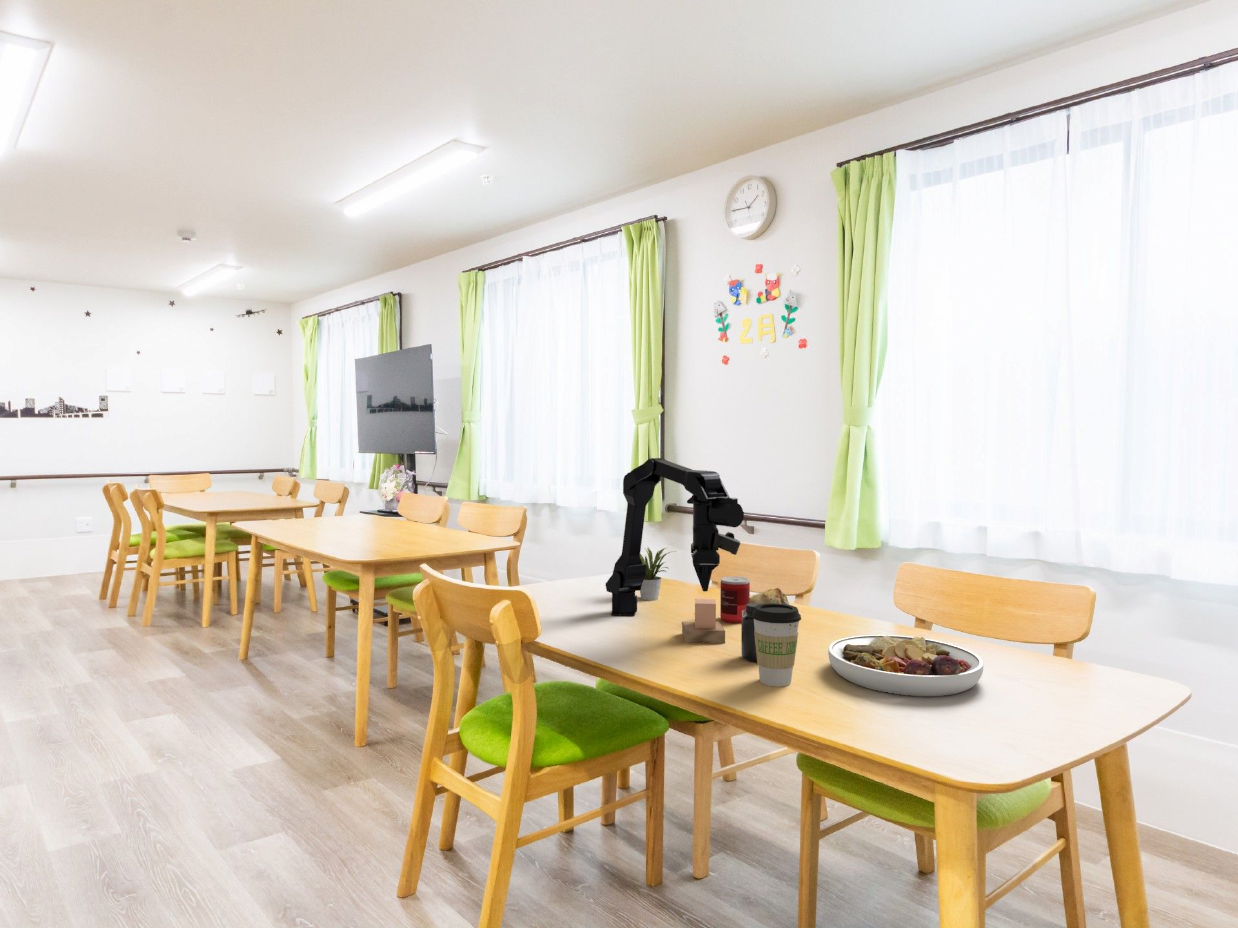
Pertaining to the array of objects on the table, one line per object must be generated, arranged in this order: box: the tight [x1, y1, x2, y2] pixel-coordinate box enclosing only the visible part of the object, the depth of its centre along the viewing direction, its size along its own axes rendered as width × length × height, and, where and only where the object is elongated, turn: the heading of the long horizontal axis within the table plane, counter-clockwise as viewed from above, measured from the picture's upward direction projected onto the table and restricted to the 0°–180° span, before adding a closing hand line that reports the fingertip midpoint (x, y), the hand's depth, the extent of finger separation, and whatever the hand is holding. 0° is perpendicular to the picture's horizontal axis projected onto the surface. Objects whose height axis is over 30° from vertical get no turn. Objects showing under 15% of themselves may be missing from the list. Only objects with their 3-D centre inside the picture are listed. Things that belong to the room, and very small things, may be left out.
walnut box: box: [681, 620, 726, 645], centre depth 191 cm, size 9×9×4 cm
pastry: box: [749, 587, 790, 605], centre depth 214 cm, size 14×12×8 cm
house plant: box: [639, 545, 677, 601], centre depth 235 cm, size 14×14×16 cm
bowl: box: [827, 634, 984, 697], centre depth 162 cm, size 30×30×8 cm
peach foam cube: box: [694, 598, 717, 629], centre depth 191 cm, size 5×5×6 cm
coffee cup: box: [751, 603, 802, 688], centre depth 158 cm, size 10×10×15 cm
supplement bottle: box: [740, 603, 763, 663], centre depth 174 cm, size 7×7×12 cm
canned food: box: [719, 576, 751, 624], centre depth 209 cm, size 8×8×11 cm
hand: (704, 587), depth 191 cm, fingers open, 9 cm apart
